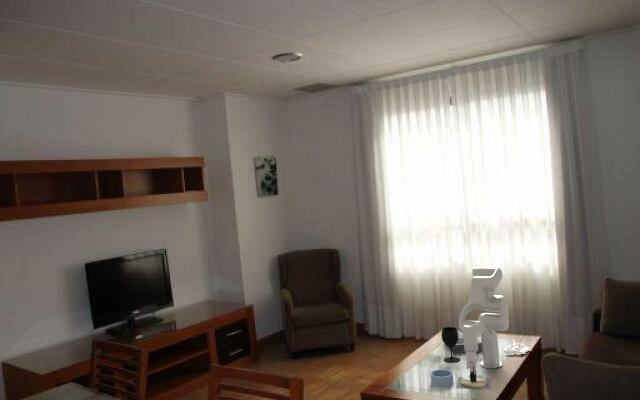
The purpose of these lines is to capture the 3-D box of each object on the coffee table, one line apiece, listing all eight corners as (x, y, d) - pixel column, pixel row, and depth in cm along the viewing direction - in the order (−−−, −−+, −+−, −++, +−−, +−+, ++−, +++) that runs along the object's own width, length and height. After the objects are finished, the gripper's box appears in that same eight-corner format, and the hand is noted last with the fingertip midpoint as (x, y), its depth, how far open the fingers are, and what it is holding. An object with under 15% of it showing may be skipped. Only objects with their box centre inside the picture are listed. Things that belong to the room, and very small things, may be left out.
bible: (447, 355, 344) (446, 340, 344) (444, 342, 371) (443, 328, 371) (484, 353, 341) (482, 338, 340) (478, 341, 367) (477, 327, 367)
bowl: (432, 379, 305) (432, 369, 304) (454, 380, 301) (453, 369, 301) (430, 387, 293) (429, 376, 293) (452, 388, 289) (451, 377, 289)
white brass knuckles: (520, 358, 326) (498, 354, 337) (533, 350, 338) (512, 346, 349) (520, 353, 326) (498, 349, 337) (533, 345, 338) (512, 341, 349)
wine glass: (442, 362, 330) (440, 331, 329) (444, 357, 340) (441, 326, 339) (460, 363, 327) (457, 331, 326) (460, 357, 337) (458, 326, 336)
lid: (461, 377, 301) (460, 367, 301) (487, 378, 297) (486, 368, 297) (459, 387, 288) (459, 376, 288) (486, 388, 284) (485, 377, 283)
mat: (458, 378, 303) (458, 377, 303) (491, 379, 297) (490, 378, 297) (456, 389, 288) (455, 388, 288) (490, 390, 282) (490, 389, 282)
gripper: (464, 342, 301) (467, 373, 301) (462, 351, 285) (465, 385, 286) (478, 342, 299) (480, 374, 299) (477, 352, 283) (479, 385, 283)
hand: (473, 379), depth 292 cm, fingers open, 4 cm apart
